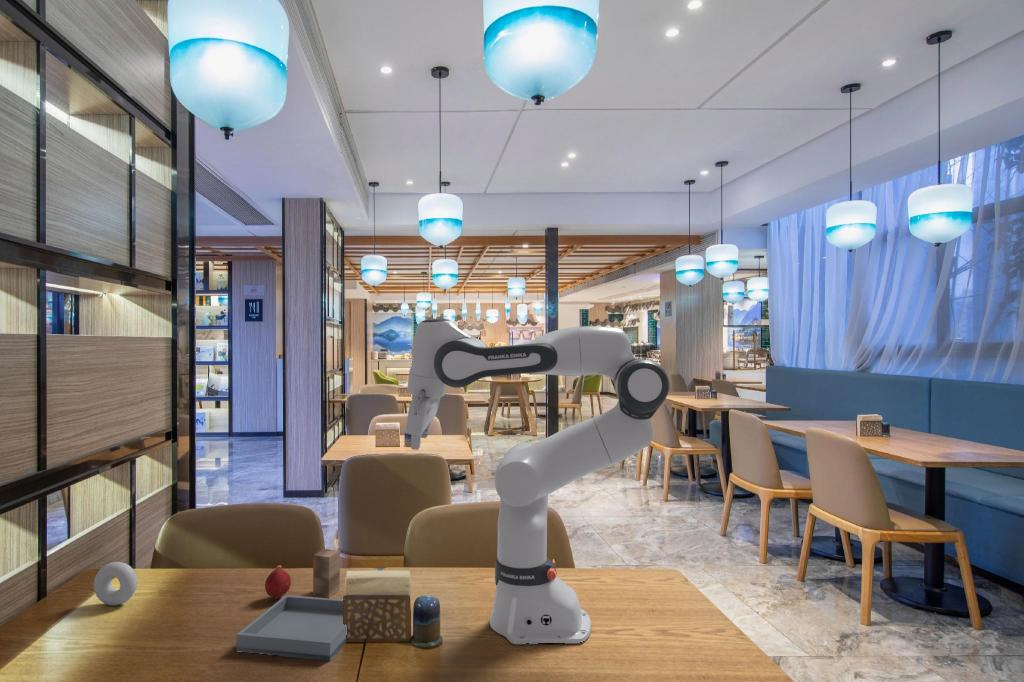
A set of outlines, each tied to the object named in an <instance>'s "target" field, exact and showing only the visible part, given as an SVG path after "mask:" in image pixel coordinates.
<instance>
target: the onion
mask: <svg viewBox="0 0 1024 682" xmlns="http://www.w3.org/2000/svg"><path fill="white" fill-rule="evenodd" d="M291 578H292V577H291V575H290V574H289V573H288V572H287V571H286V570H285V569H283V566H282V565H277V567H276V568H275V569H273V571H271V573H269V574H268V576H267V577H266V579H265V583H264V589H265V592H266V594H267V595H268V596H269V597H271V598H273V599H276V600H280V599H282V598H283V597H284V596H285V595H286V593H288V591H289V590H290V588H291V586H292V579H291Z"/></svg>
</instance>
